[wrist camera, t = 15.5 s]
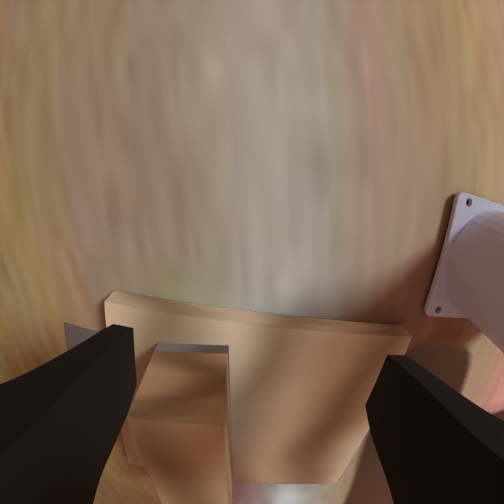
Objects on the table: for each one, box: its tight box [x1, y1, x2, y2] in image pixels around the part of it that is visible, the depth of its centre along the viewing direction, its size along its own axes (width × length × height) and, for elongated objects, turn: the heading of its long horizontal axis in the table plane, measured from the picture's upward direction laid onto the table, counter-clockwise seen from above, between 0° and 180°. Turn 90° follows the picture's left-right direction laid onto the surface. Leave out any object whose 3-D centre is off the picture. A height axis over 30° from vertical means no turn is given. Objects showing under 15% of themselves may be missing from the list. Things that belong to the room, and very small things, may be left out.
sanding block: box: [127, 342, 234, 504], centre depth 16 cm, size 4×12×6 cm, turn 179°
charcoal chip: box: [64, 323, 98, 350], centre depth 20 cm, size 4×4×1 cm
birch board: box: [104, 291, 412, 484], centre depth 20 cm, size 18×16×2 cm
